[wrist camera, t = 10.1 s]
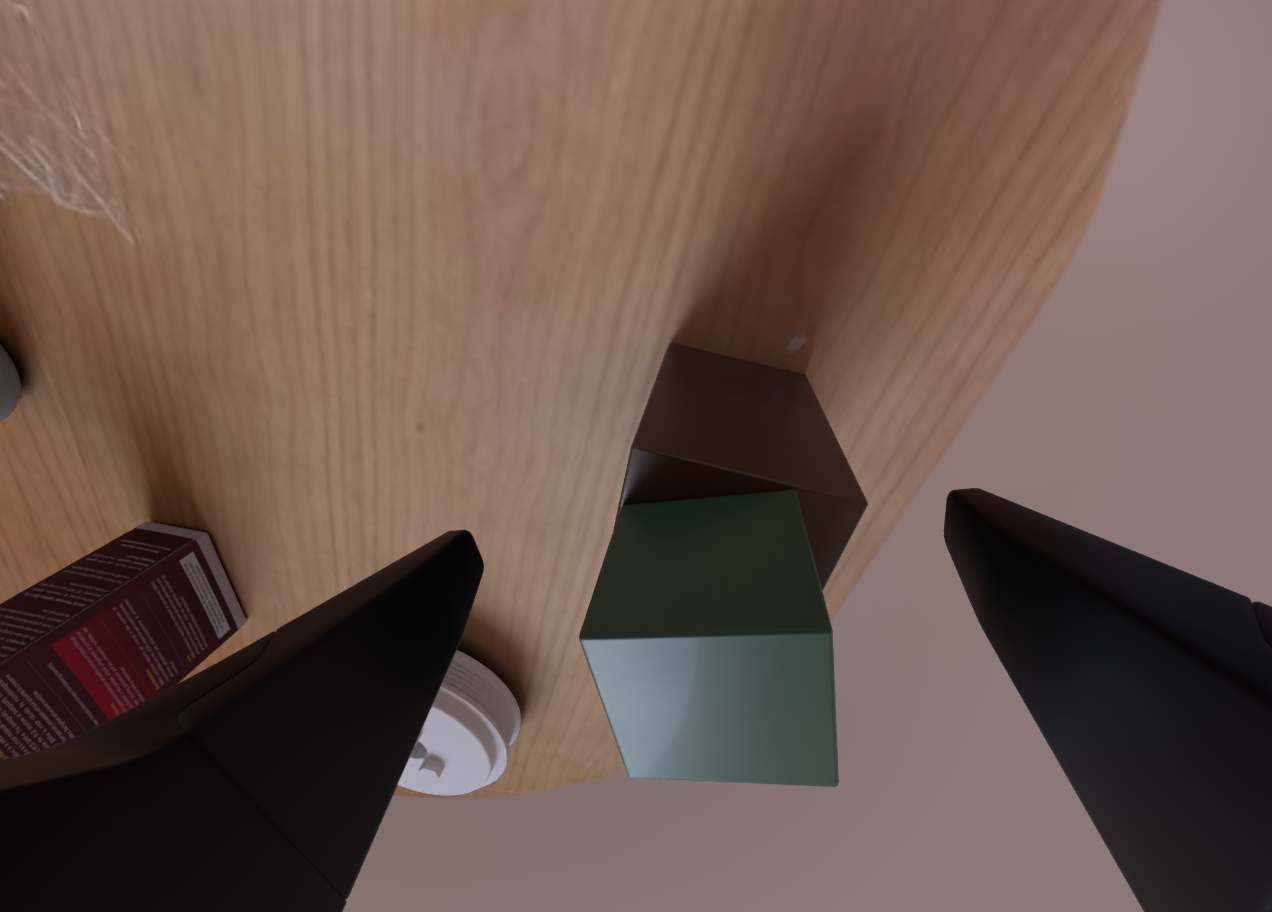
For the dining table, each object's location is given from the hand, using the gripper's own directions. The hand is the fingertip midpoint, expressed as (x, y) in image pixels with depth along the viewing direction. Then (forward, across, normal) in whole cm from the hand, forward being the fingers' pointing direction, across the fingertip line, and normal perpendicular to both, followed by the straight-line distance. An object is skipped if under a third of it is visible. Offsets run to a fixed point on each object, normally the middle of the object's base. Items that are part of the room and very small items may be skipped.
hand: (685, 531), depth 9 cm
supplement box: (+14, +36, +10) cm, 40 cm away
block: (+3, 0, +4) cm, 5 cm away
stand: (+13, 0, +3) cm, 14 cm away
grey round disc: (+13, +22, +22) cm, 34 cm away
